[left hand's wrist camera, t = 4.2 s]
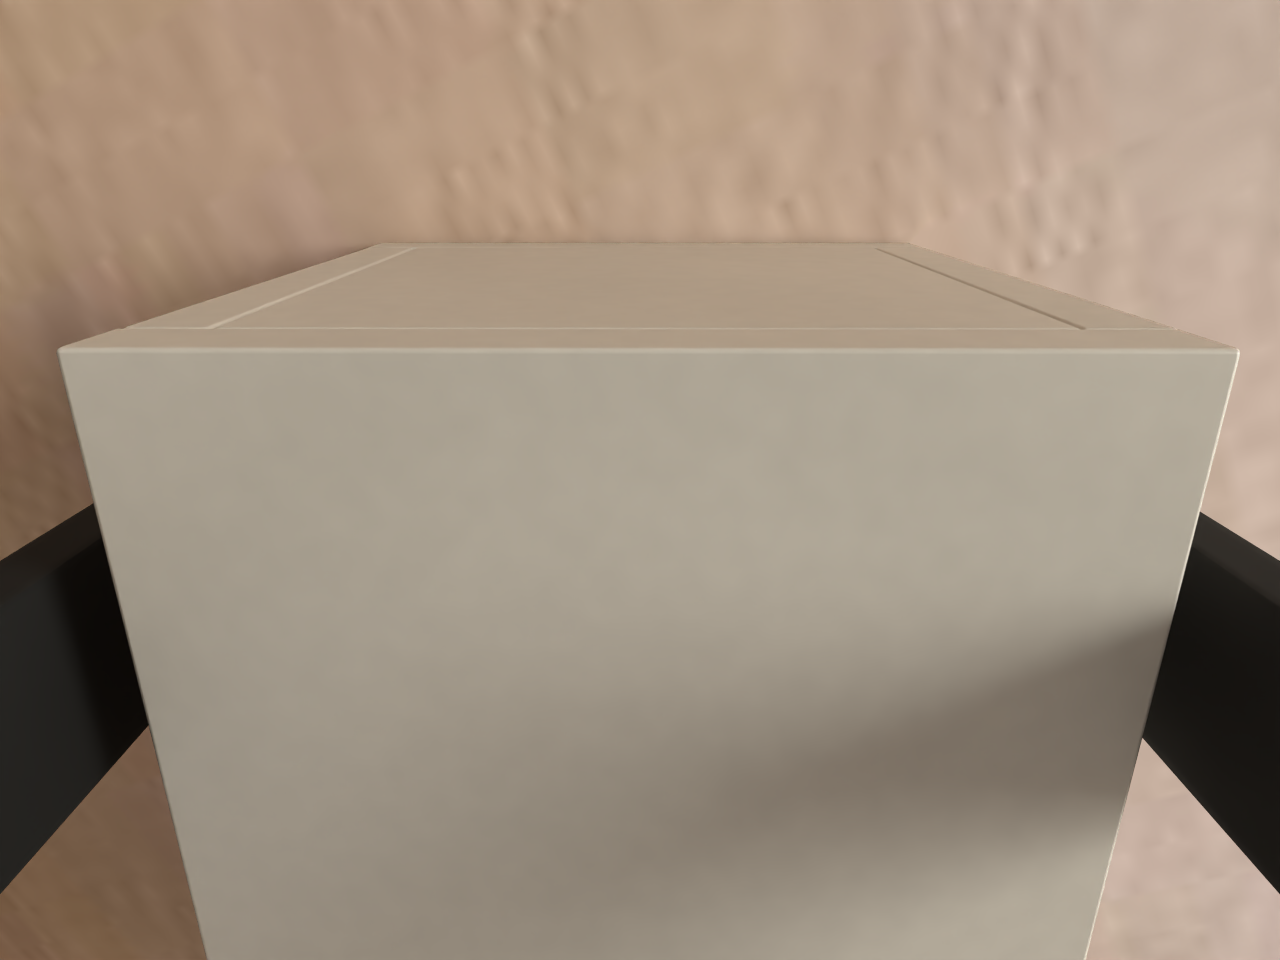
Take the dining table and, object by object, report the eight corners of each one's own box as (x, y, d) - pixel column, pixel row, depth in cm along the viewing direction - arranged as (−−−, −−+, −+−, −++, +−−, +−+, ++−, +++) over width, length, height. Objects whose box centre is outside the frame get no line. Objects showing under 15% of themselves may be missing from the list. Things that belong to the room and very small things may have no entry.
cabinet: (837, 908, 24) (970, 1419, 15) (449, 907, 25) (318, 1416, 15) (910, 242, 18) (1244, 348, 8) (379, 242, 18) (52, 347, 8)
